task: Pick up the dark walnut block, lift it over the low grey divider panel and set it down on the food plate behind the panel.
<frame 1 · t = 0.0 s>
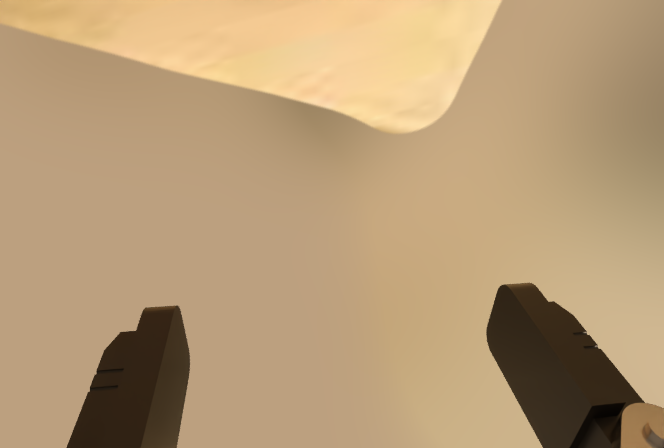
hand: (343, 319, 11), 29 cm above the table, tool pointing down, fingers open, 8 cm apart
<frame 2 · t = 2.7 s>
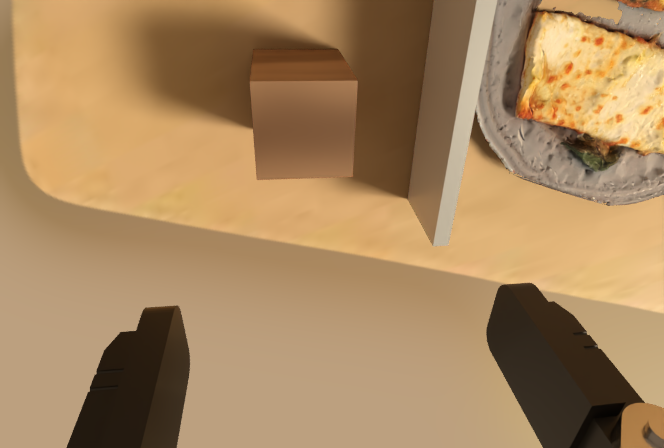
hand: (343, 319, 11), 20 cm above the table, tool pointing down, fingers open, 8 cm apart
grey divider panel: (434, 57, 28), on the table
food plate: (653, 23, 29), on the table
walnut block: (296, 91, 28), on the table
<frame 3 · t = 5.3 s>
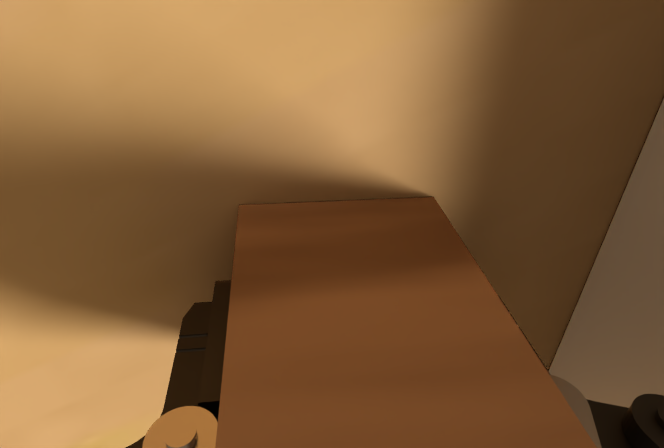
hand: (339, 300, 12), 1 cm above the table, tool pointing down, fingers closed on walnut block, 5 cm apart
grey divider panel: (635, 202, 13), on the table
walnut block: (335, 277, 13), on the table, touching gripper
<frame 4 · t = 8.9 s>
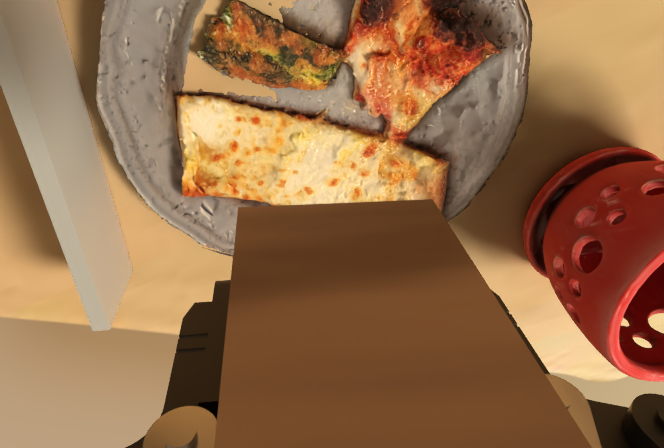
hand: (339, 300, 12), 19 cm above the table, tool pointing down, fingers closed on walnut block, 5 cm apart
grey divider panel: (87, 140, 27), on the table
plant pot: (585, 203, 36), on the table
food plate: (322, 98, 29), on the table
walnut block: (335, 279, 13), point 18 cm above the table, touching gripper
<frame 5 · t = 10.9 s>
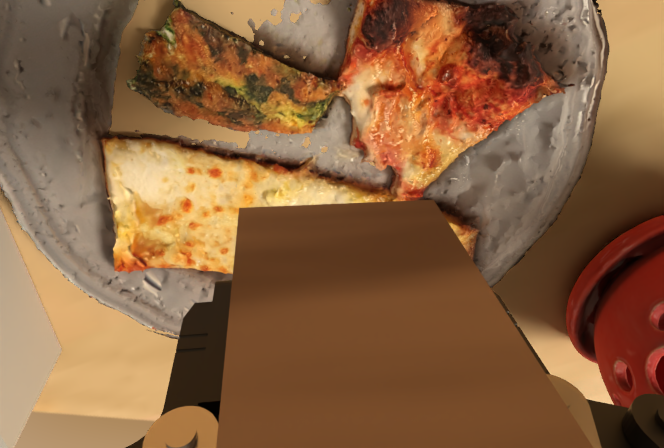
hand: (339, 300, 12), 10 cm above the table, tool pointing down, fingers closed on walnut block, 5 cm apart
plant pot: (646, 271, 28), on the table
food plate: (308, 141, 21), on the table
walnut block: (336, 279, 13), point 9 cm above the table, touching gripper
when the fingers open (5 cm above the table, at t = 12.7 s): walnut block drops 2 cm, resting on food plate.
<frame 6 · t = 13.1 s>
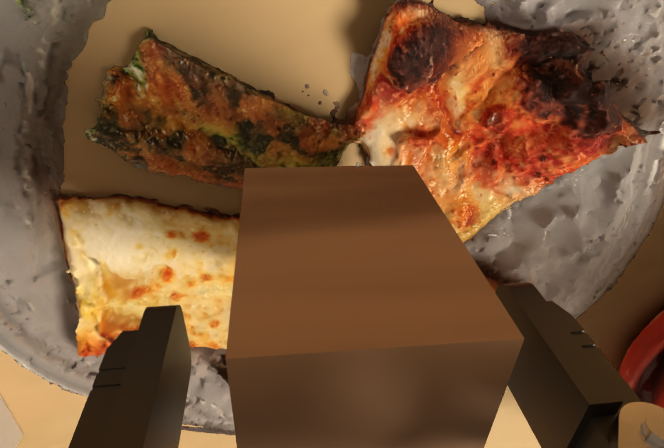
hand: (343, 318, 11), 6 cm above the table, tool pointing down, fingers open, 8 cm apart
food plate: (316, 194, 17), on the table, touching walnut block
walnut block: (328, 237, 15), point 2 cm above the table, touching food plate
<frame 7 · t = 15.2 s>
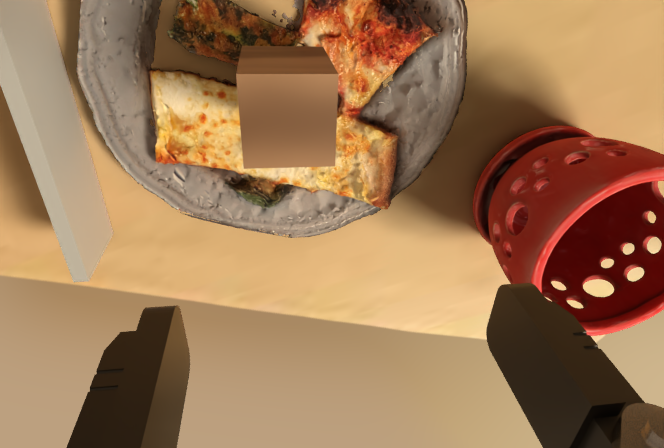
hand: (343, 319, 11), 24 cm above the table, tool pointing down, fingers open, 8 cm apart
grey divider panel: (70, 110, 30), on the table
plant pot: (532, 179, 39), on the table
food plate: (282, 76, 32), on the table, touching walnut block
walnut block: (284, 86, 29), point 2 cm above the table, touching food plate
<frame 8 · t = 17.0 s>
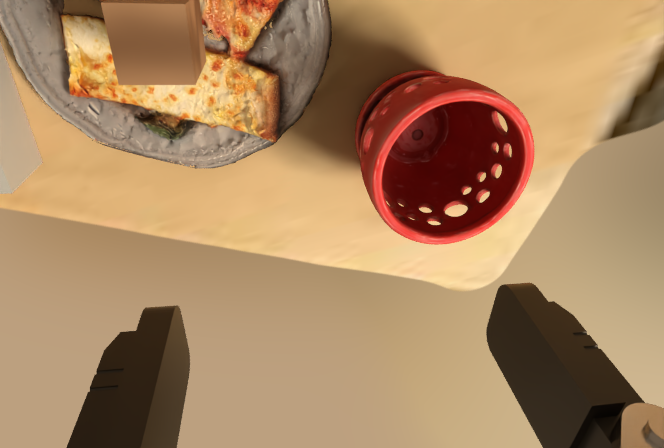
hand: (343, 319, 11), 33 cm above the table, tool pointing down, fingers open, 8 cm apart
plant pot: (411, 122, 44), on the table
food plate: (178, 23, 37), on the table, touching walnut block
walnut block: (169, 27, 35), point 2 cm above the table, touching food plate
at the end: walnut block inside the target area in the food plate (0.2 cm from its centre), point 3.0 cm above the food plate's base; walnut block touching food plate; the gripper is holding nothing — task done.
